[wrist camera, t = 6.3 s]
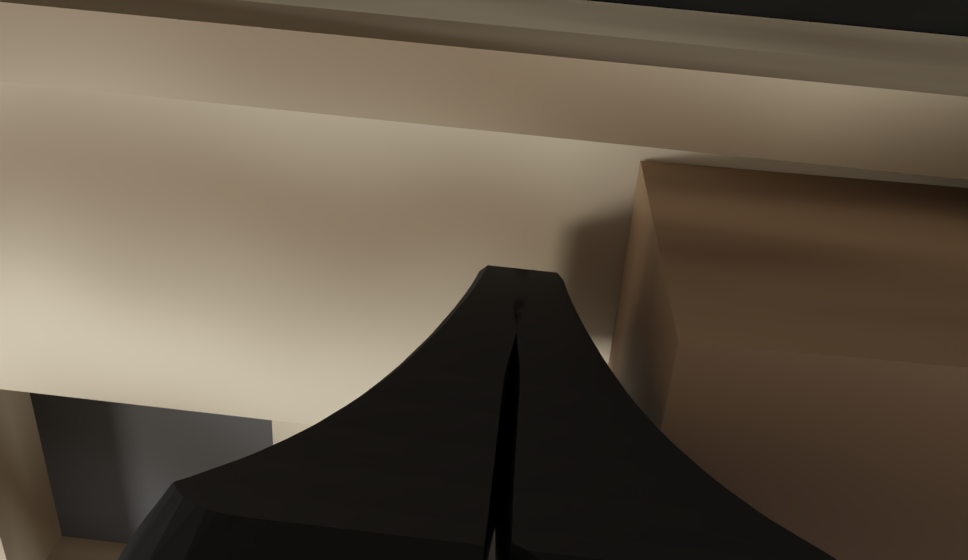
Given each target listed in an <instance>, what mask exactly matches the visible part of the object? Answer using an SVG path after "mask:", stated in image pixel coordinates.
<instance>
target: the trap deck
mask: <svg viewBox="0 0 968 560" xmlns="http://www.w3.org/2000/svg"><path fill="white" fill-rule="evenodd" d="M640 161H651V162H663V163H675V164H687V165H699V166H711V167H723V168H735V169H747V170H759V171H771V172H783V173H795V174H808V175H820V176H832V177H844V178H856V179H868V180H880V181H892V182H904V183H916V184H928V185H940V186H952V187H963V188H968V37H963V36H953V35H942V34H932V33H921V32H911V31H901V30H890V29H880V28H869V27H859V26H848V25H838V24H827V23H817V22H807V21H796V20H786V19H775V18H765V17H754V16H744V15H734V14H723V13H713V12H702V11H692V10H681V9H671V8H660V7H650V6H640V5H629V4H619V3H608V2H598V1H587V0H0V560H118V558H119V557H120V555H121V553H122V551H123V550H124V548H125V546H126V544H127V543H128V541H129V540H130V538H131V537H132V535H133V534H134V532H135V531H136V530H137V528H138V527H139V526H140V524H141V523H142V521H143V520H144V519H145V517H146V516H147V515H148V513H149V512H150V511H151V510H152V509H153V507H154V506H155V505H156V504H157V502H158V501H159V500H160V498H161V497H162V496H163V494H164V493H165V492H166V490H167V489H168V487H169V486H170V485H171V484H172V483H173V482H174V481H178V480H181V479H184V478H187V477H191V476H193V475H196V474H199V473H202V472H205V471H207V470H210V469H213V468H216V467H219V466H222V465H224V464H227V463H230V462H233V461H236V460H238V459H241V458H244V457H246V456H249V455H251V454H254V453H256V452H258V451H261V450H263V449H265V448H267V447H270V446H272V445H274V444H276V443H279V442H281V441H283V440H285V439H287V438H289V437H291V436H293V435H295V434H297V433H299V432H301V431H303V430H305V429H307V428H309V427H311V426H313V425H315V424H317V423H318V422H320V421H322V420H323V419H325V418H327V417H328V416H330V415H331V414H333V413H335V412H336V411H338V410H340V409H341V408H343V407H345V406H346V405H348V404H349V403H351V402H352V401H354V400H355V399H357V398H358V397H360V396H361V395H362V394H364V393H365V392H366V391H368V390H369V389H370V388H372V387H373V386H374V385H376V384H377V383H378V382H380V381H381V380H382V379H383V378H385V377H386V376H387V375H388V374H389V373H391V372H392V371H393V370H394V369H395V368H396V367H398V366H399V365H400V364H401V363H402V362H403V361H404V360H405V359H406V358H407V357H408V356H409V355H410V354H411V353H412V352H414V351H415V350H416V349H417V348H418V347H419V346H420V345H421V344H422V343H423V342H424V341H425V340H426V339H427V338H428V337H429V336H430V335H431V334H432V333H433V332H434V331H435V329H436V328H437V327H438V326H439V325H440V324H441V323H442V321H443V320H444V319H445V318H446V317H447V316H448V314H449V313H450V312H451V311H452V310H453V309H454V308H455V306H456V305H457V304H458V302H459V301H460V300H461V298H462V297H463V296H464V295H465V293H466V292H467V290H468V289H469V288H470V286H471V285H472V283H473V281H474V280H475V278H476V276H477V274H478V272H479V271H480V270H482V269H483V268H484V267H486V266H487V265H491V266H500V267H510V268H519V269H529V270H538V271H547V272H557V273H558V274H559V275H560V277H561V278H562V279H563V280H564V283H565V286H566V289H567V291H568V294H569V296H570V298H571V301H572V303H573V305H574V307H575V309H576V311H577V313H578V315H579V317H580V319H581V321H582V323H583V325H584V327H585V328H586V330H587V332H588V334H589V335H590V337H591V339H592V340H593V342H594V344H595V345H596V347H597V349H598V350H599V352H600V354H601V355H602V357H603V359H604V360H605V362H606V363H607V365H608V363H609V357H610V350H611V344H612V338H613V331H614V325H615V318H616V312H617V306H618V299H619V293H620V287H621V280H622V274H623V268H624V261H625V255H626V249H627V242H628V236H629V230H630V223H631V217H632V210H633V204H634V198H635V191H636V185H637V179H638V172H639V166H640ZM488 560H495V529H494V534H493V538H492V543H491V548H490V553H489V558H488Z"/></svg>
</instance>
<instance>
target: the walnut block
mask: <svg viewBox="0 0 968 560" xmlns="http://www.w3.org/2000/svg"><path fill="white" fill-rule="evenodd" d="M608 366H609V368H610V369H611V371H612V372H613V373H614V375H615V376H616V378H617V379H618V380H619V382H620V383H621V384H622V386H623V387H624V389H625V390H626V391H627V393H628V394H629V395H630V396H631V398H632V399H633V400H634V402H635V403H636V404H637V405H638V406H639V408H640V409H641V410H642V411H643V412H644V413H645V415H646V416H647V417H648V418H649V419H650V420H651V421H652V422H653V423H654V424H655V426H656V427H657V428H658V429H659V430H660V431H661V432H662V433H663V434H664V435H665V436H666V437H667V438H668V439H669V440H670V441H671V442H672V443H673V444H675V445H676V446H677V447H678V448H679V449H680V450H681V451H682V452H684V453H685V454H686V455H687V456H688V457H689V458H690V459H691V460H693V461H694V462H695V463H696V464H697V465H698V466H699V467H700V468H702V469H703V470H704V471H705V472H706V473H708V474H709V475H710V476H711V477H713V478H714V479H715V480H716V481H718V482H719V483H720V484H721V485H723V486H724V487H725V488H727V489H728V490H729V491H731V492H732V493H733V494H735V495H736V496H738V497H739V498H740V499H742V500H743V501H745V502H746V503H747V504H749V505H750V506H752V507H753V508H754V509H756V510H757V511H759V512H760V513H761V514H763V515H764V516H766V517H767V518H769V519H770V520H772V521H774V522H775V523H777V524H779V525H780V526H782V527H784V528H785V529H787V530H789V531H791V532H792V533H794V534H796V535H797V536H799V537H801V538H802V539H804V540H806V541H807V542H809V543H811V544H812V545H814V546H816V547H817V548H819V549H821V550H822V551H824V552H826V553H827V554H829V555H831V556H832V557H834V558H835V559H836V560H968V188H963V187H952V186H940V185H928V184H916V183H904V182H892V181H880V180H868V179H856V178H844V177H832V176H820V175H808V174H795V173H783V172H771V171H759V170H747V169H735V168H723V167H711V166H699V165H687V164H675V163H663V162H651V161H640V166H639V172H638V179H637V185H636V191H635V198H634V204H633V210H632V217H631V223H630V230H629V236H628V242H627V249H626V255H625V261H624V268H623V274H622V280H621V287H620V293H619V299H618V306H617V312H616V318H615V325H614V331H613V338H612V344H611V350H610V357H609V363H608Z"/></svg>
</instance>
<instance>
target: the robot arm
mask: <svg viewBox="0 0 968 560" xmlns="http://www.w3.org/2000/svg"><path fill="white" fill-rule="evenodd" d="M494 529H495V560H836V559H835V558H834V557H832V556H831V555H829V554H827V553H826V552H824V551H822V550H821V549H819V548H817V547H816V546H814V545H812V544H811V543H809V542H807V541H806V540H804V539H802V538H801V537H799V536H797V535H796V534H794V533H792V532H791V531H789V530H787V529H785V528H784V527H782V526H780V525H779V524H777V523H775V522H774V521H772V520H770V519H769V518H767V517H766V516H764V515H763V514H761V513H760V512H759V511H757V510H756V509H754V508H753V507H752V506H750V505H749V504H747V503H746V502H745V501H743V500H742V499H740V498H739V497H738V496H736V495H735V494H733V493H732V492H731V491H729V490H728V489H727V488H725V487H724V486H723V485H721V484H720V483H719V482H718V481H716V480H715V479H714V478H713V477H711V476H710V475H709V474H708V473H706V472H705V471H704V470H703V469H702V468H700V467H699V466H698V465H697V464H696V463H695V462H694V461H693V460H691V459H690V458H689V457H688V456H687V455H686V454H685V453H684V452H682V451H681V450H680V449H679V448H678V447H677V446H676V445H675V444H673V443H672V442H671V441H670V440H669V439H668V438H667V437H666V436H665V435H664V434H663V433H662V432H661V431H660V430H659V429H658V428H657V427H656V426H655V424H654V423H653V422H652V421H651V420H650V419H649V418H648V417H647V416H646V415H645V413H644V412H643V411H642V410H641V409H640V408H639V406H638V405H637V404H636V403H635V402H634V400H633V399H632V398H631V396H630V395H629V394H628V393H627V391H626V390H625V389H624V387H623V386H622V384H621V383H620V382H619V380H618V379H617V378H616V376H615V375H614V373H613V372H612V371H611V369H610V368H609V366H608V365H607V363H606V362H605V360H604V359H603V357H602V355H601V354H600V352H599V350H598V349H597V347H596V345H595V344H594V342H593V340H592V339H591V337H590V335H589V334H588V332H587V330H586V328H585V327H584V325H583V323H582V321H581V319H580V317H579V315H578V313H577V311H576V309H575V307H574V305H573V303H572V301H571V298H570V296H569V294H568V291H567V289H566V286H565V283H564V280H563V279H562V278H561V277H560V275H559V274H558V273H557V272H547V271H538V270H529V269H519V268H510V267H500V266H491V265H487V266H486V267H484V268H483V269H482V270H480V271H479V272H478V274H477V276H476V278H475V280H474V281H473V283H472V285H471V286H470V288H469V289H468V290H467V292H466V293H465V295H464V296H463V297H462V298H461V300H460V301H459V302H458V304H457V305H456V306H455V308H454V309H453V310H452V311H451V312H450V313H449V314H448V316H447V317H446V318H445V319H444V320H443V321H442V323H441V324H440V325H439V326H438V327H437V328H436V329H435V331H434V332H433V333H432V334H431V335H430V336H429V337H428V338H427V339H426V340H425V341H424V342H423V343H422V344H421V345H420V346H419V347H418V348H417V349H416V350H415V351H414V352H412V353H411V354H410V355H409V356H408V357H407V358H406V359H405V360H404V361H403V362H402V363H401V364H400V365H399V366H398V367H396V368H395V369H394V370H393V371H392V372H391V373H389V374H388V375H387V376H386V377H385V378H383V379H382V380H381V381H380V382H378V383H377V384H376V385H374V386H373V387H372V388H370V389H369V390H368V391H366V392H365V393H364V394H362V395H361V396H360V397H358V398H357V399H355V400H354V401H352V402H351V403H349V404H348V405H346V406H345V407H343V408H341V409H340V410H338V411H336V412H335V413H333V414H331V415H330V416H328V417H327V418H325V419H323V420H322V421H320V422H318V423H317V424H315V425H313V426H311V427H309V428H307V429H305V430H303V431H301V432H299V433H297V434H295V435H293V436H291V437H289V438H287V439H285V440H283V441H281V442H279V443H276V444H274V445H272V446H270V447H267V448H265V449H263V450H261V451H258V452H256V453H254V454H251V455H249V456H246V457H244V458H241V459H238V460H236V461H233V462H230V463H227V464H224V465H222V466H219V467H216V468H213V469H210V470H207V471H205V472H202V473H199V474H196V475H193V476H191V477H187V478H184V479H181V480H178V481H174V482H173V483H172V484H171V485H170V486H169V487H168V489H167V490H166V492H165V493H164V494H163V496H162V497H161V498H160V500H159V501H158V502H157V504H156V505H155V506H154V507H153V509H152V510H151V511H150V512H149V513H148V515H147V516H146V517H145V519H144V520H143V521H142V523H141V524H140V526H139V527H138V528H137V530H136V531H135V532H134V534H133V535H132V537H131V538H130V540H129V541H128V543H127V544H126V546H125V548H124V550H123V551H122V553H121V555H120V557H119V558H118V560H488V558H489V553H490V548H491V543H492V538H493V534H494Z"/></svg>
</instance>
